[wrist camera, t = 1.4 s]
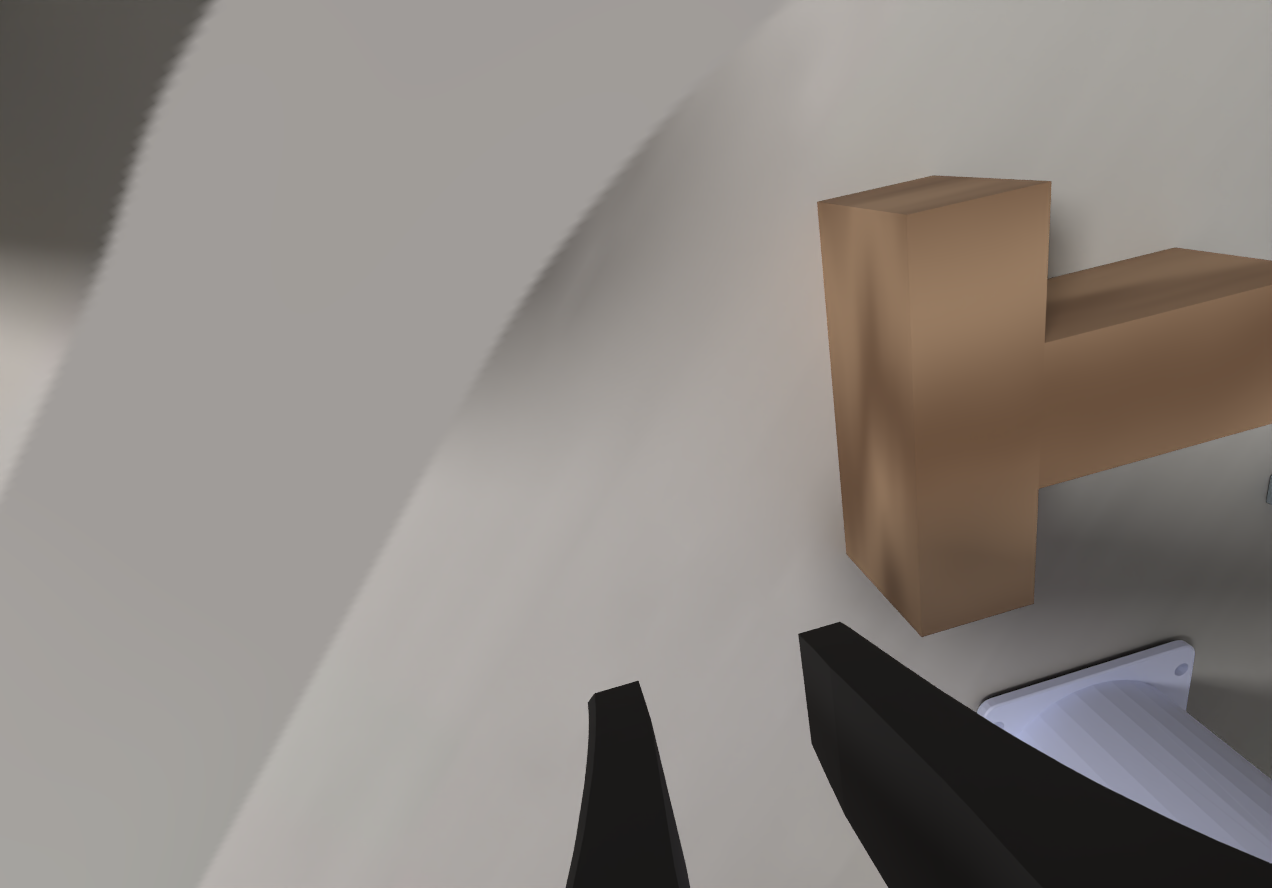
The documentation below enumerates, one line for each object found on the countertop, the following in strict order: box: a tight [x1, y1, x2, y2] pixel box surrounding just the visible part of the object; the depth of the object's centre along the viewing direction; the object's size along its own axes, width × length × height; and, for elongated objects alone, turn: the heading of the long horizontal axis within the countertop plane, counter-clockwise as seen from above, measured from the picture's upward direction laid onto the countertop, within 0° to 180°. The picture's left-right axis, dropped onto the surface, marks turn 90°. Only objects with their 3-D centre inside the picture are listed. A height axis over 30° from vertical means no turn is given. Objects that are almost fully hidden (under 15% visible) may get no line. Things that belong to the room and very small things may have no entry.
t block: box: [817, 176, 1272, 637], centre depth 18 cm, size 10×10×4 cm
